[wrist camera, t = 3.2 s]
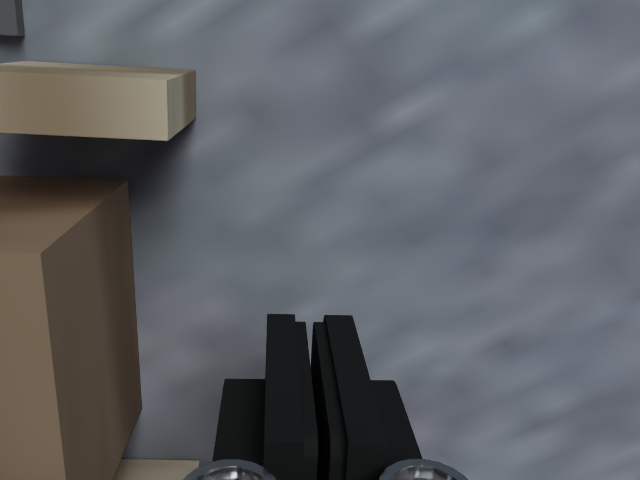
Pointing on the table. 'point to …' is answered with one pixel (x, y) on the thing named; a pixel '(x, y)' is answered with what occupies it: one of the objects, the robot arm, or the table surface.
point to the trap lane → (97, 132)
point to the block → (66, 328)
